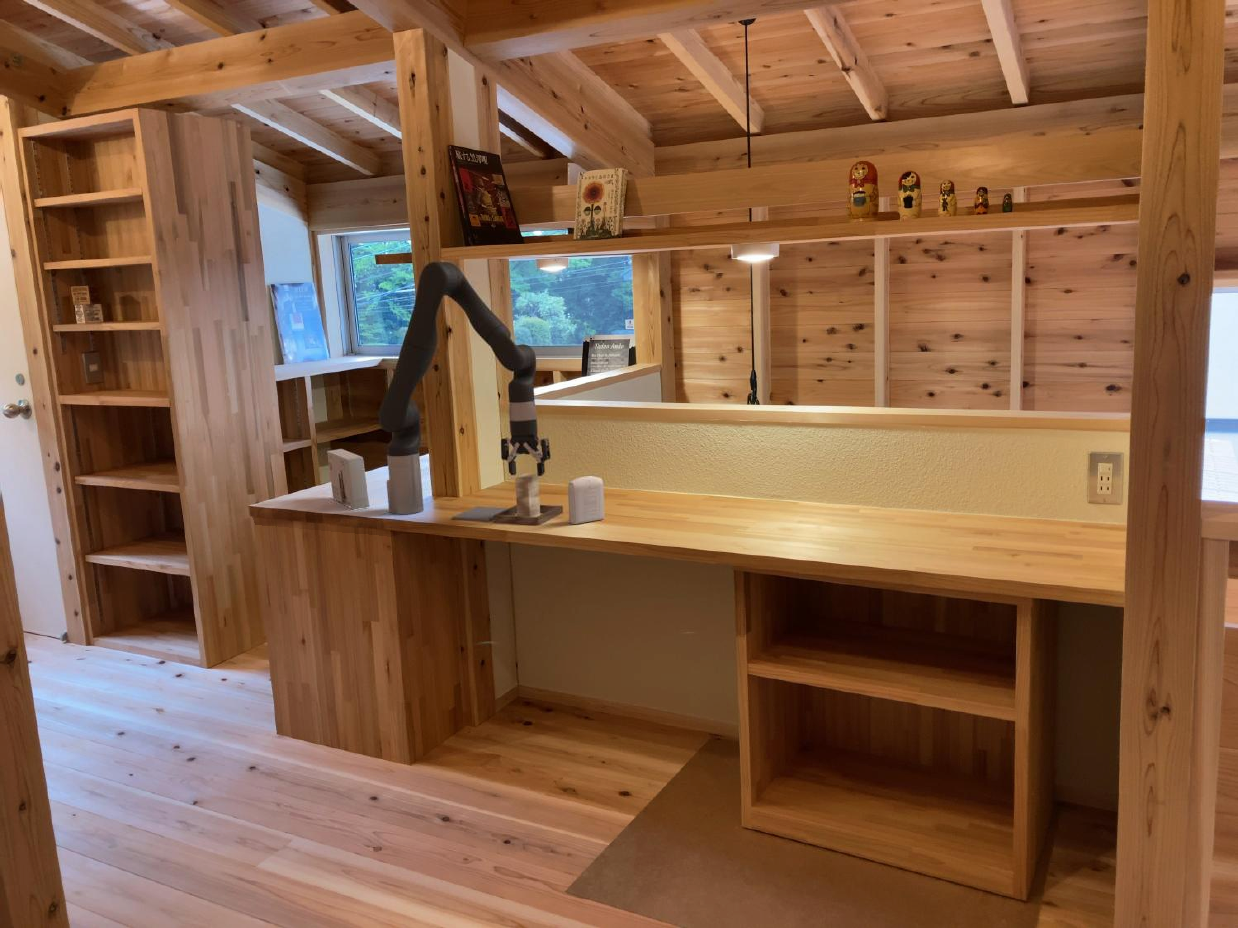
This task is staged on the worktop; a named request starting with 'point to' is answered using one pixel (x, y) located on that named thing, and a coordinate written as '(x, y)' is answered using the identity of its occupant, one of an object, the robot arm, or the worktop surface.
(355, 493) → the skincare box
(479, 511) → the grey mat
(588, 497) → the photo printer
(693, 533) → the worktop surface
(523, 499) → the block
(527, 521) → the frame
